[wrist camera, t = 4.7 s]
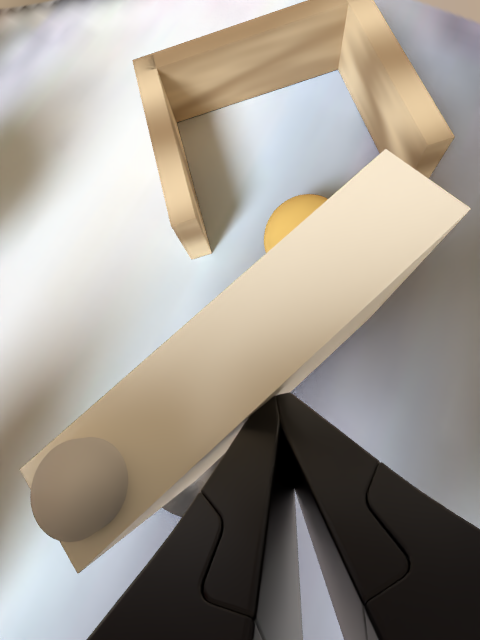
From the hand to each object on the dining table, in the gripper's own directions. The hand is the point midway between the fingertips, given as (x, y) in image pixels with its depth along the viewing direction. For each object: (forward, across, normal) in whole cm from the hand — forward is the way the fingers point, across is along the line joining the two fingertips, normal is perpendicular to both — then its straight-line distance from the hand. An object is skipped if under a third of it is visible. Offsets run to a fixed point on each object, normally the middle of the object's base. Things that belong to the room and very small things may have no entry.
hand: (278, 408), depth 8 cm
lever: (+6, 0, -4) cm, 7 cm away
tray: (+16, +3, +6) cm, 17 cm away
